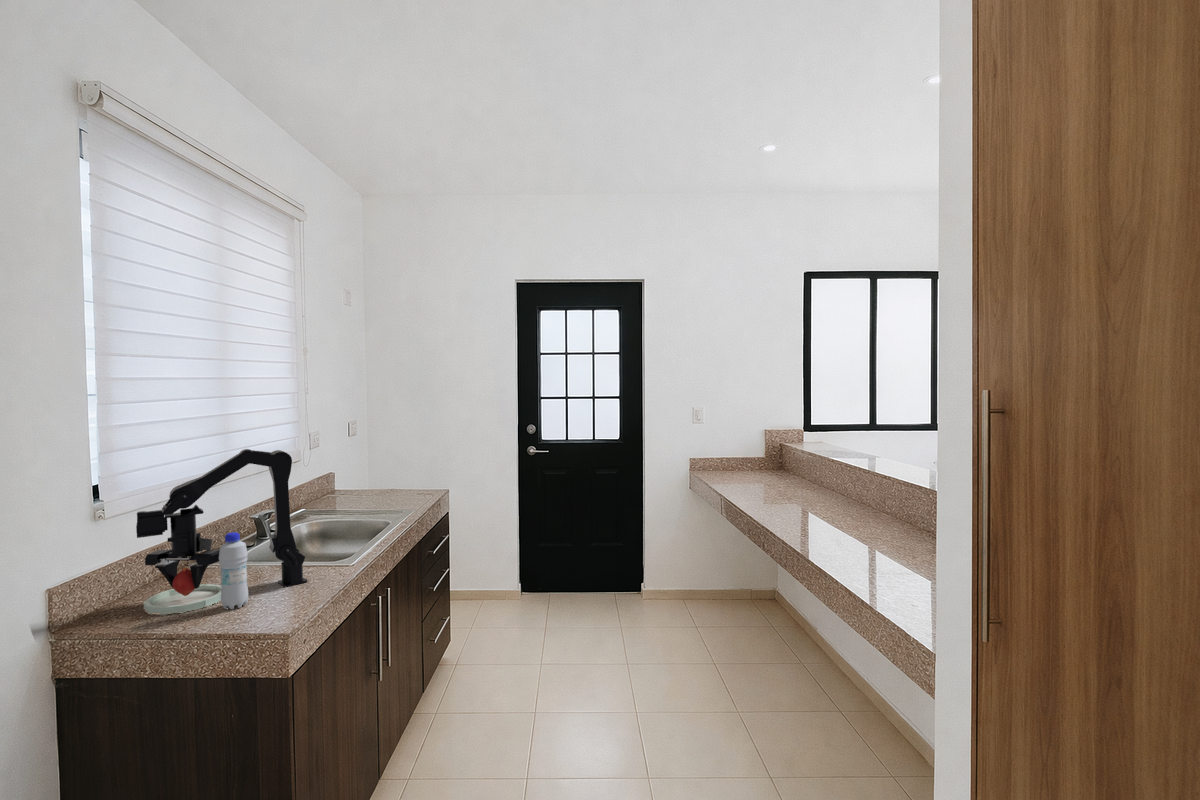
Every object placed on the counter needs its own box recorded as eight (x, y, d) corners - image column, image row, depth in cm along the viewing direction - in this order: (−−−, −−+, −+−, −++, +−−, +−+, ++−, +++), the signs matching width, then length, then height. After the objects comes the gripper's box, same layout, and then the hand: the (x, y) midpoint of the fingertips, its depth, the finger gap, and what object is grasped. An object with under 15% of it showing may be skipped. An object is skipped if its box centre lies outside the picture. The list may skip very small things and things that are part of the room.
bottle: (228, 613, 159) (225, 536, 158) (215, 608, 163) (212, 533, 162) (254, 604, 165) (252, 531, 164) (241, 600, 168) (238, 528, 168)
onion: (181, 592, 170) (180, 564, 170) (203, 591, 171) (202, 563, 170) (168, 599, 164) (167, 570, 164) (191, 598, 165) (189, 569, 165)
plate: (233, 601, 168) (233, 593, 168) (153, 620, 155) (153, 612, 155) (214, 586, 180) (213, 580, 180) (138, 603, 167) (138, 596, 167)
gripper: (235, 524, 174) (237, 578, 175) (173, 525, 175) (175, 578, 176) (208, 534, 163) (211, 592, 164) (141, 534, 164) (144, 592, 165)
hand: (186, 588), depth 167 cm, fingers closed on onion, 6 cm apart
